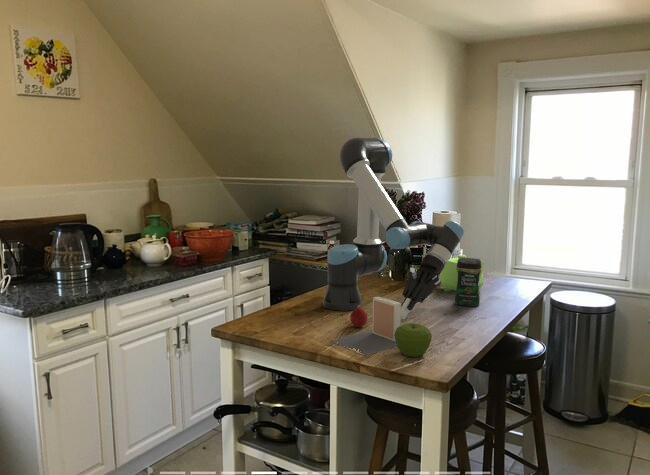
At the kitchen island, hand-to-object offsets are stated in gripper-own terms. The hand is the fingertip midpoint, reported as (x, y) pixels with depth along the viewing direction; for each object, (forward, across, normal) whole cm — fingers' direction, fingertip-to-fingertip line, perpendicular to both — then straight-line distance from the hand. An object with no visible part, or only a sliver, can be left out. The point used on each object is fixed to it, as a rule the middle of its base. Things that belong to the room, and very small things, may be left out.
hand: (400, 316), depth 178 cm
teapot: (-41, +24, -50) cm, 69 cm away
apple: (+13, -15, +4) cm, 20 cm away
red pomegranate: (+9, +13, 0) cm, 16 cm away
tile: (+8, 0, +1) cm, 8 cm away
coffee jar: (-29, +8, -38) cm, 48 cm away
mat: (+12, 0, +4) cm, 13 cm away
